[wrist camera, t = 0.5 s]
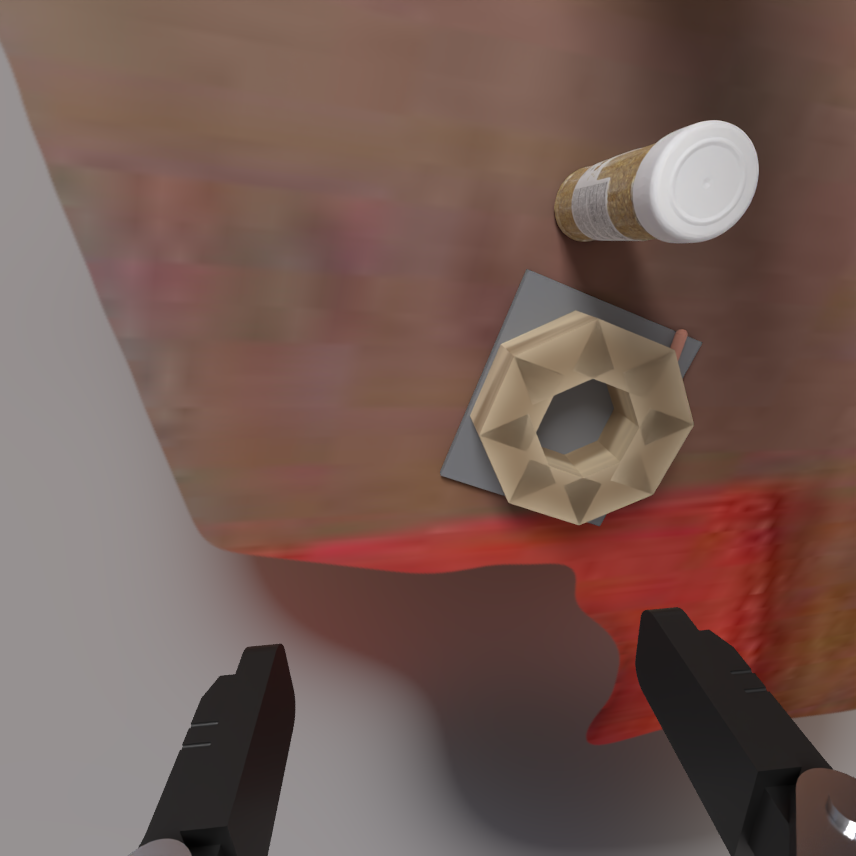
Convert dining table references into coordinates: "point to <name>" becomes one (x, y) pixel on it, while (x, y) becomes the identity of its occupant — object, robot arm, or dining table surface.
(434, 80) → the dining table surface
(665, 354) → the octagonal faceted ring
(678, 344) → the reddish pink rod
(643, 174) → the sprinkles bottle
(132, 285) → the dining table surface
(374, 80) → the dining table surface
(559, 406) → the mat
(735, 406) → the dining table surface
